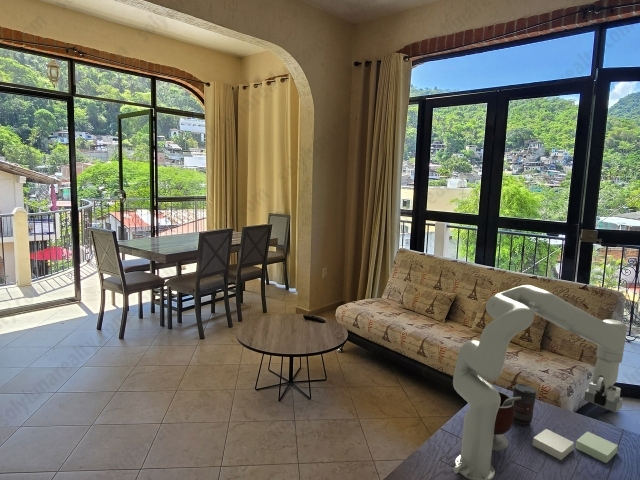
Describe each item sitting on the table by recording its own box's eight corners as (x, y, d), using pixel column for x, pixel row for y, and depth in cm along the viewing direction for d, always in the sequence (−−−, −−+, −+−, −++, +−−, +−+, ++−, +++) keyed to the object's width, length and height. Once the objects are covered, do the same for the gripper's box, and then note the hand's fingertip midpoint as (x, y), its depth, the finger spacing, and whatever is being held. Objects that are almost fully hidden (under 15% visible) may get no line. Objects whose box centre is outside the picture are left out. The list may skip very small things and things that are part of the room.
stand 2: (606, 463, 144) (607, 455, 143) (575, 447, 152) (576, 440, 151) (616, 452, 150) (617, 445, 149) (586, 438, 158) (587, 431, 157)
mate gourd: (468, 443, 152) (473, 394, 149) (473, 424, 164) (478, 378, 161) (514, 458, 145) (520, 406, 142) (516, 437, 157) (522, 388, 154)
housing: (583, 399, 150) (586, 381, 149) (590, 395, 153) (592, 377, 152) (615, 412, 142) (618, 393, 141) (621, 407, 146) (624, 388, 144)
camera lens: (535, 428, 163) (540, 393, 161) (515, 427, 163) (519, 392, 161) (526, 417, 171) (530, 383, 169) (506, 416, 171) (510, 382, 169)
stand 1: (560, 460, 145) (562, 452, 144) (532, 445, 152) (533, 437, 152) (573, 449, 150) (574, 442, 150) (545, 435, 158) (546, 428, 158)
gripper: (606, 345, 153) (600, 390, 156) (587, 356, 143) (581, 404, 146) (630, 352, 147) (623, 399, 150) (612, 364, 137) (605, 414, 140)
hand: (602, 401), depth 148 cm, fingers closed on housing, 5 cm apart
